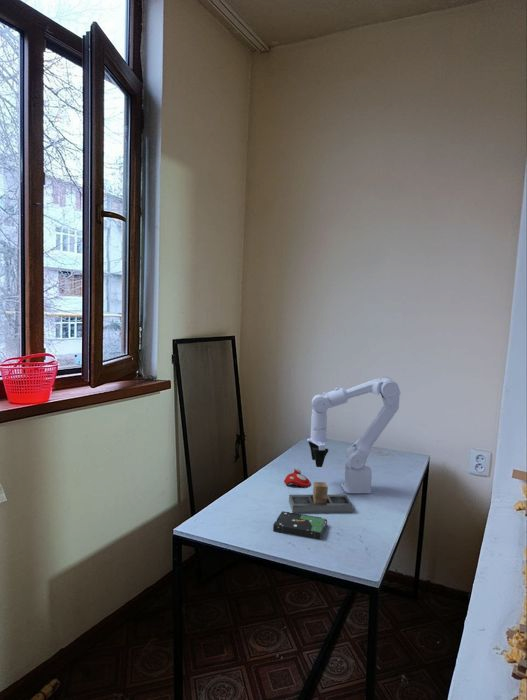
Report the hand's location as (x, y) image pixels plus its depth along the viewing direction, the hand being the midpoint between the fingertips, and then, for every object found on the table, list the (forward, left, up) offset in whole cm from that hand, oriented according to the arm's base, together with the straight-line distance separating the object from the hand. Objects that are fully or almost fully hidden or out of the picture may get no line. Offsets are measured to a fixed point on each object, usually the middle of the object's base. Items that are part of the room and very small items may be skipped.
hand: (317, 463), depth 180 cm
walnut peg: (+2, +17, -9) cm, 20 cm away
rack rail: (+2, +17, -9) cm, 20 cm away
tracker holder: (+6, -6, -10) cm, 13 cm away
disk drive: (+11, +32, -10) cm, 35 cm away
